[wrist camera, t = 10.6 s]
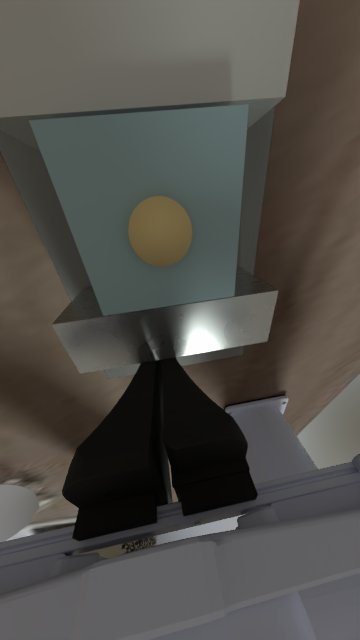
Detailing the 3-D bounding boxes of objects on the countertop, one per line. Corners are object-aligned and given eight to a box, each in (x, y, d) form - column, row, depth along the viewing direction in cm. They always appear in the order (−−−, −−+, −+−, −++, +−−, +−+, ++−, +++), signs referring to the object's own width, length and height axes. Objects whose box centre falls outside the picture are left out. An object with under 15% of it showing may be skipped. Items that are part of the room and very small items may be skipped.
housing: (202, 263, 11) (238, 301, 7) (122, 274, 11) (101, 322, 6) (199, 157, 8) (257, 94, 4) (92, 167, 8) (17, 111, 4)
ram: (237, 307, 13) (267, 341, 10) (99, 329, 12) (79, 373, 9) (240, 266, 11) (278, 290, 8) (82, 289, 11) (51, 324, 7)
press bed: (238, 347, 17) (267, 393, 13) (110, 369, 16) (95, 427, 12) (274, 10, 7) (453, -277, 3) (-44, 22, 6) (-435, -356, 2)
